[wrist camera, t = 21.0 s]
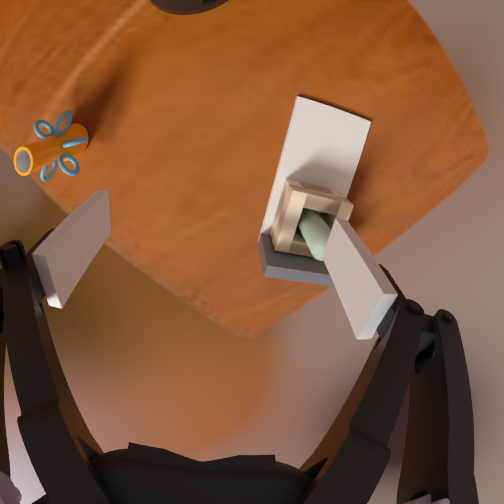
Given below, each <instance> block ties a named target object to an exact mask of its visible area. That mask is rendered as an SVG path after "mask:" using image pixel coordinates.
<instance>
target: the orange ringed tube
mask: <svg viewBox="0 0 504 504" xmlns="http://www.w3.org/2000/svg"><path fill="white" fill-rule="evenodd" d="M67 115H68V120H67V123H66V125H65V126H62V127H60V128H59V125H60V123H61V121H62V119H63V118H64V117H65V116H67ZM72 117H73V115H72V112H71V111H69V110H67V111H65V112H63V113H62V114H61V115H60V116H59V117H58V119H57V121H56V123H55V126H54V130H53V127H52V126H51V125H50V124H49V123H48V122H47V121H45V120H38V121H36V122H35V124H34V131H35V133H36V134H37V135H38V136H39V137H40V138H42V139H41V140H38V141H35V142H32V143H30V144H27V145H25V146H22V147H20V148H18V149H17V151H16V152H15V155H14V166H15V169H16V171H17V172H18V173H19V174H20V175H22V176H26V175H28V174H30V173H32V172H33V171H35V170H37V169H39V168H41V167H42V170H41V174H40V177H41V180H42V181H47V180H49V179H50V178H51V177H52V175H53V174H54V172H55V169H56V166H57V159H58V160H59V166H60V168H61V169H62V171H63V172H65V173H66V174H68V175H70V176H74V175H77V174H78V172H79V169H80V168H79V164H78V162H77V160H76V159H75V158H74V157H76V156H78V155H80V154H82V153H83V152H84V151H85V149H86V147H87V145H88V141H89V136H88V132H87V130H86V128H85V127H84V126H83V125H81V124H79V123H73V124H71V122H72ZM39 124H41V125H44V126H46V127H47V128H48V130H49V132H50V134H49V135H46V134H44V133H42V132H41V131H40V130H39V128H38V125H39ZM68 160H70V161H71V162H72V163H73V164H74V166H75V170H74V171H72V170H69V169H68V168H67V167H66V166H65V165H64V163H63V161H68ZM51 162H53V166H52V169H51V171H50V172H49V174H48V175H47V176H46V177H45V171H46V169H47V167H48V165H49V164H50V163H51Z"/></svg>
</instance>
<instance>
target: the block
mask: <svg viewBox="0 0 504 504" xmlns="http://www.w3.org/2000/svg"><path fill="white" fill-rule="evenodd" d="M353 207H354V205H353V204H352V203H351V202H350V201H349V200H348V199H347V198H346V197H345V196H344V195H343V194H342V193H341V192H337V191H334V190H330V189H326V188H322V187H319V186H315V185H311V184H307V183H303V182H298V181H294V180H290V179H285V182H284V186H283V189H282V193H281V196H280V200H279V204H278V207H277V211H276V214H275V218H274V221H273V225H272V228H271V232H270V234H271V238H272V242H273V246H274V250H275V251H281V252H287V253H292V254H298V255H304V256H310V257H313V255H312V253H311V251H310V249H309V247H308V245H307V243H306V241H305V239H304V237H303V235H302V233H301V231H300V229H299V227H298V226H297V224H298V221H299V218H300V215H301V212H302V209H303V208H308V209H312V210H316V211H321V217H322V218H323V220H324V221H325V222H326V224H327V225H328V227H329V228H330V230H332V227H333V224H334V221H335V218H338V219H343V220H347V221H348V220H349V217H350V215H351V212H352V209H353Z"/></svg>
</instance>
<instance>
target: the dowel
mask: <svg viewBox="0 0 504 504" xmlns="http://www.w3.org/2000/svg"><path fill="white" fill-rule="evenodd" d="M297 225H298V227H299V229H300V231H301V233H302V235H303V237H304V239H305V241H306V243H307V245H308V247H309V249H310V251H311V253H312V255H313V257H314V258H315V259H317V260H320V261H324V260H323V258H322V256H323V253H324V250H325V248H326V245H327V242H328V239H329V236H330V233H331V230H330V228H329V227H328V225H327V224H326V222H325V221H324V220H323V218H322V217H321V215H320V214H319V213H318V211H316V210H312V209H308V208H303V209H302V212H301V215H300V218H299V221H298V224H297Z"/></svg>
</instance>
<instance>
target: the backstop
mask: <svg viewBox="0 0 504 504" xmlns="http://www.w3.org/2000/svg"><path fill="white" fill-rule="evenodd" d="M370 124H371V122H370V121H368V120H365V119H363V118H360V117H358V116H355V115H353V114H350V113H347V112H345V111H342V110H339V109H336V108H334V107H331V106H328V105H325V104H322V103H319V102H316V101H312V100H309V99H306V98H302V97H299V96H297V97H296V101H295V104H294V108H293V112H292V116H291V120H290V123H289V127H288V131H287V135H286V138H285V142H284V146H283V150H282V153H281V157H280V161H279V164H278V168H277V172H276V176H275V179H274V183H273V187H272V191H271V194H270V198H269V202H268V205H267V209H266V213H265V217H264V220H263V224H262V228H261V231H260V235H259V239H258V244H259V250H260V257H261V263H262V269H263V275H264V277H270V278H277V279H284V280H291V281H298V282H305V283H313V284H320V285H328V286H335V285H334V283H333V281H332V278H331V276H330V274H329V272H328V269H327V267H326V265H325V263H324V261H320V260H317V259H315V258H314V257H310V256H304V255H298V254H292V253H287V252H281V251H275V250H274V246H273V242H272V238H271V234H270V232H271V228H272V225H273V221H274V218H275V214H276V211H277V207H278V204H279V200H280V196H281V193H282V189H283V186H284V182H285V179H290V180H294V181H298V182H303V183H307V184H311V185H315V186H319V187H322V188H326V189H330V190H334V191H337V192H341V193H342V194H343V195H344V196H345V197H346V198H347V195H348V192H349V189H350V186H351V183H352V180H353V177H354V175H355V172H356V169H357V166H358V162H359V159H360V156H361V153H362V150H363V147H364V144H365V140H366V137H367V134H368V131H369V127H370ZM318 213H319V214H320V215H321V211H318ZM297 226H298V225H297Z"/></svg>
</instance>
